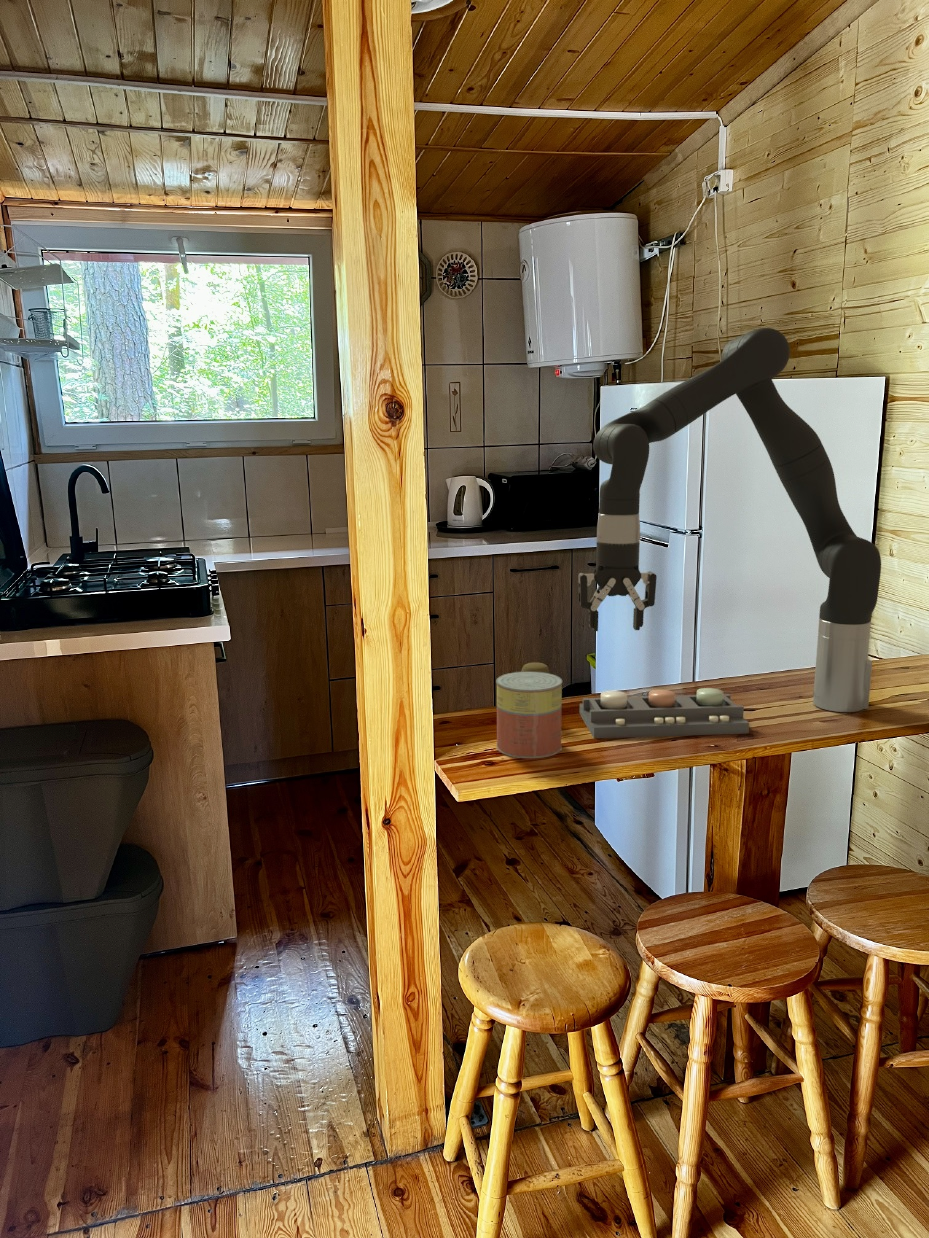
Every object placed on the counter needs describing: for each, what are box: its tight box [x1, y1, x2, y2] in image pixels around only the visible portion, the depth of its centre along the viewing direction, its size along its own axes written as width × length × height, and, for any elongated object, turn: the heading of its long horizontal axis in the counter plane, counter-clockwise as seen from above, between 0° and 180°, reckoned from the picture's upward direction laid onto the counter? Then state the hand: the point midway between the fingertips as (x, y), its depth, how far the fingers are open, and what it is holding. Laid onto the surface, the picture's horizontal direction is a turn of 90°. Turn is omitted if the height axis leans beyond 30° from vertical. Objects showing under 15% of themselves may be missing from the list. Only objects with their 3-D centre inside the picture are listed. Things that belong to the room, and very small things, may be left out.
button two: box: [696, 687, 725, 706], centre depth 171 cm, size 5×5×2 cm
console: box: [579, 693, 750, 739], centre depth 171 cm, size 28×14×4 cm, turn 94°
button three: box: [648, 688, 676, 708], centre depth 171 cm, size 5×5×2 cm
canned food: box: [495, 671, 563, 759], centre depth 159 cm, size 11×11×12 cm
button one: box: [600, 690, 628, 709], centre depth 170 cm, size 5×5×2 cm
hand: (615, 629), depth 167 cm, fingers open, 7 cm apart
